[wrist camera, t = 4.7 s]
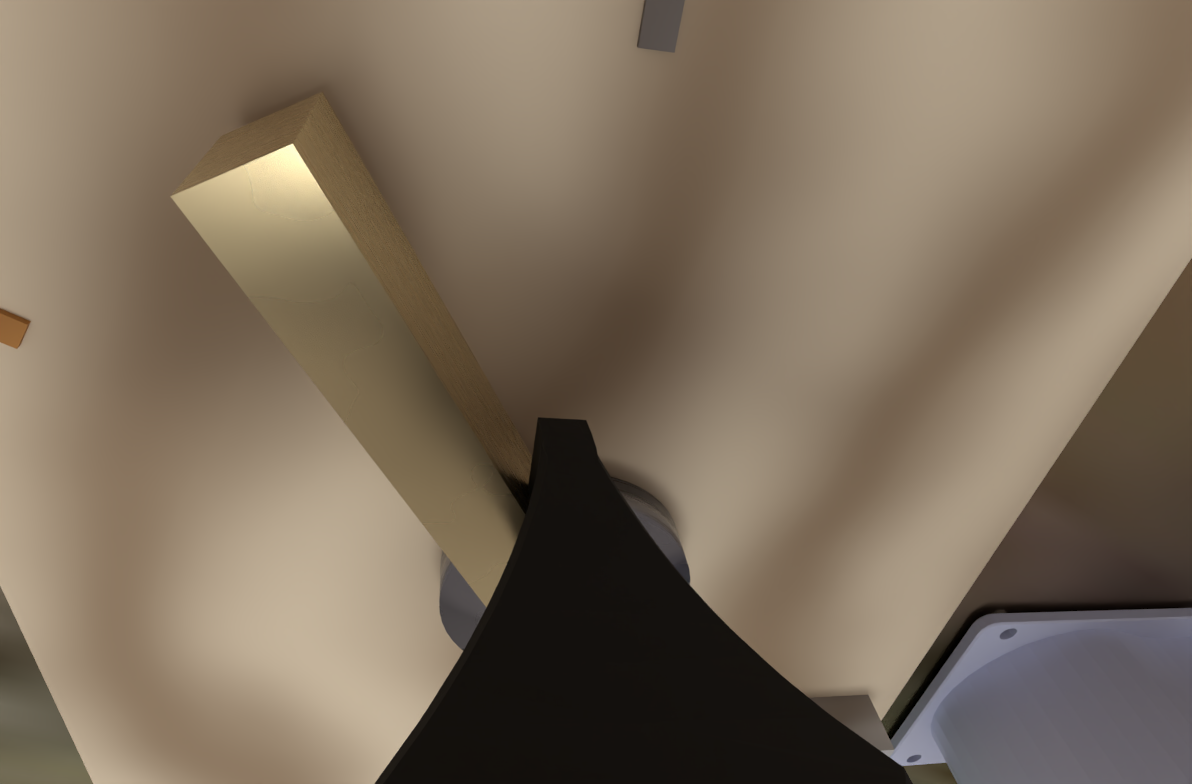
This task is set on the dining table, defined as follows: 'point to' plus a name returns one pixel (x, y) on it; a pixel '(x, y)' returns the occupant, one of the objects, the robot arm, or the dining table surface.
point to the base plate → (561, 328)
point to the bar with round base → (377, 340)
